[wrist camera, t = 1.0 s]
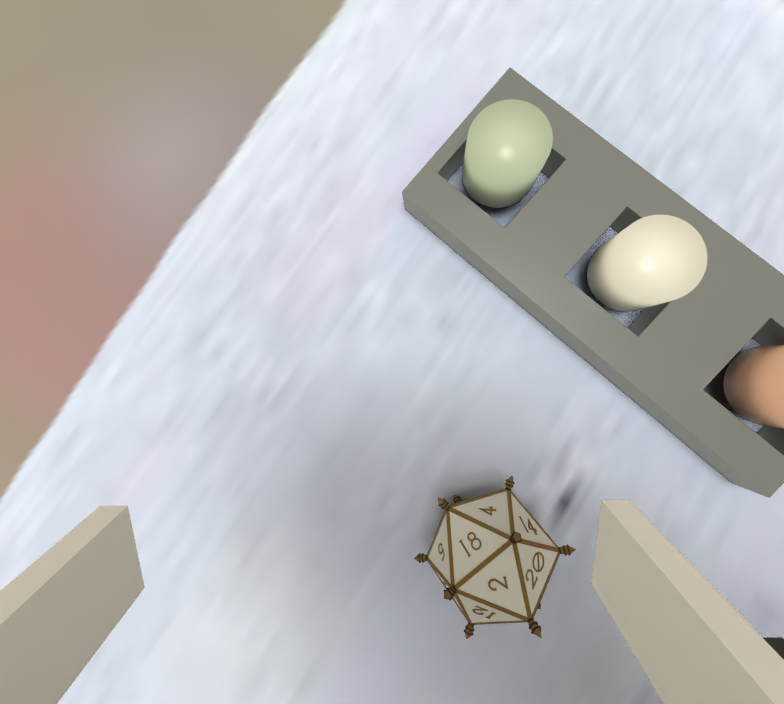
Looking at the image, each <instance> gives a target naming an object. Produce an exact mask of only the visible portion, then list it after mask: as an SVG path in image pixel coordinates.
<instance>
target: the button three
mask: <svg viewBox="0 0 784 704" xmlns="http://www.w3.org/2000/svg"><path fill="white" fill-rule="evenodd" d="M724 393H725V396H726V399H727V401H728V403H729V404H730V406H731V407H732V409H733V410H734V411H735V412H736V413H737V414H738V415H740V416H741V417H742V418H744V419H746V420H748V421H750V422H752V423H756V424H760V425H765V426H771V427H777V428H782V429H784V345H774V346H760V347H754V348H751V349H748V350H746V351H744V352H742V353H741V354H739V355H738V356H737V357H735V358H734V359H733V361H732V362H731V363H730V365H729V366H728V368H727V370H726V372H725V376H724Z"/></svg>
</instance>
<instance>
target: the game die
mask: <svg viewBox="0 0 784 704" xmlns="http://www.w3.org/2000/svg"><path fill="white" fill-rule="evenodd" d="M505 484H506V488H505V489H503V490H499V491H496V492H493V493H490V494H486V495H483V496H480V497H476V498H473V499H470V500H467V501H463V502H461V501H462V500H461V499H460V497H458V496H455V495H454V499H453V500H454V503H455V504H454V505H450V506H449V505H448V502H446V500H445V499H444V498H443V499H441V498H438V501H439V506H441V508H442V509H445V512H444V514H443V517H442V519H441V522H440V524H439V527H438V529H437V532H436V534H435V537H434V539H433V542H432V544H431V547H430V549H429V552H428V554H427V555H424V554H423V553H422V554H420V553H419V555H417V556H416V557H415V558H414V559H415V560H417V561H418V562H419V563H420V562H425V561H428V562H429V564H430V565H431V567H432V568H433V570H434V571H435V573H436V574H437V576H438V577H439V579H440V580H441V582H442V583H443V585H444V586H445V588H446V590H444V599H449V600H451V599H452V598H453V600H454V601H455V603H456V604H457V606H458V607H459V609H460V610H461V612H462V613H463V615H464V616H465V618H466V619H467V621H468V625H466V627H465V628H466V629H465V630H464V632H465V635H466V639H468V638H469V637H470V636H471V635H473V631H474V629H473V626H474V625H477V624H497V623H517V622H528V623H529V629H531V631H532V632H531V633H532V634H535V635H537V636H539V637H540V638H541V631H540V630H541V627H540V626H538V623H537V621H536V622H535V621H534V620H533V618H534V616H535V613H536V611H537V609H541V608H540V606H541V605H540V601H541V599H542V596H543V594H544V591H545V589H546V587H547V584H548V582H549V579H550V577H551V574H552V572H553V569H554V567H555V565H556V562H557V560H558V557H559V555H560V554H565V555H570V554H571V553H572V552H574V551H575V550H576V549H574V548H572V547H570V546H568V545H567V546H564V545H563V546H562V547H558V546H557V545H556V544H555V543H554V541H553V540H552V539H551V538H550V537H549V536H548V534H547V533H546V532H545V531H544V530H543V528H542V527H541V526H540V525H539V524H538V522H537V521H536V520H535V519H534V518H533V517H532V515H531V514H530V513H529V512H528V511H527V509H526V508H525V507H524V506H523V505H522V504H521V502H520V501H519V500H518V499H517V498H516V496H515V495H514V494H513V493H512V492H511V488H512V487H513V484H514V481H513V477H512V476H511V477H510V478H509V479H507V480H506V483H505Z"/></svg>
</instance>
